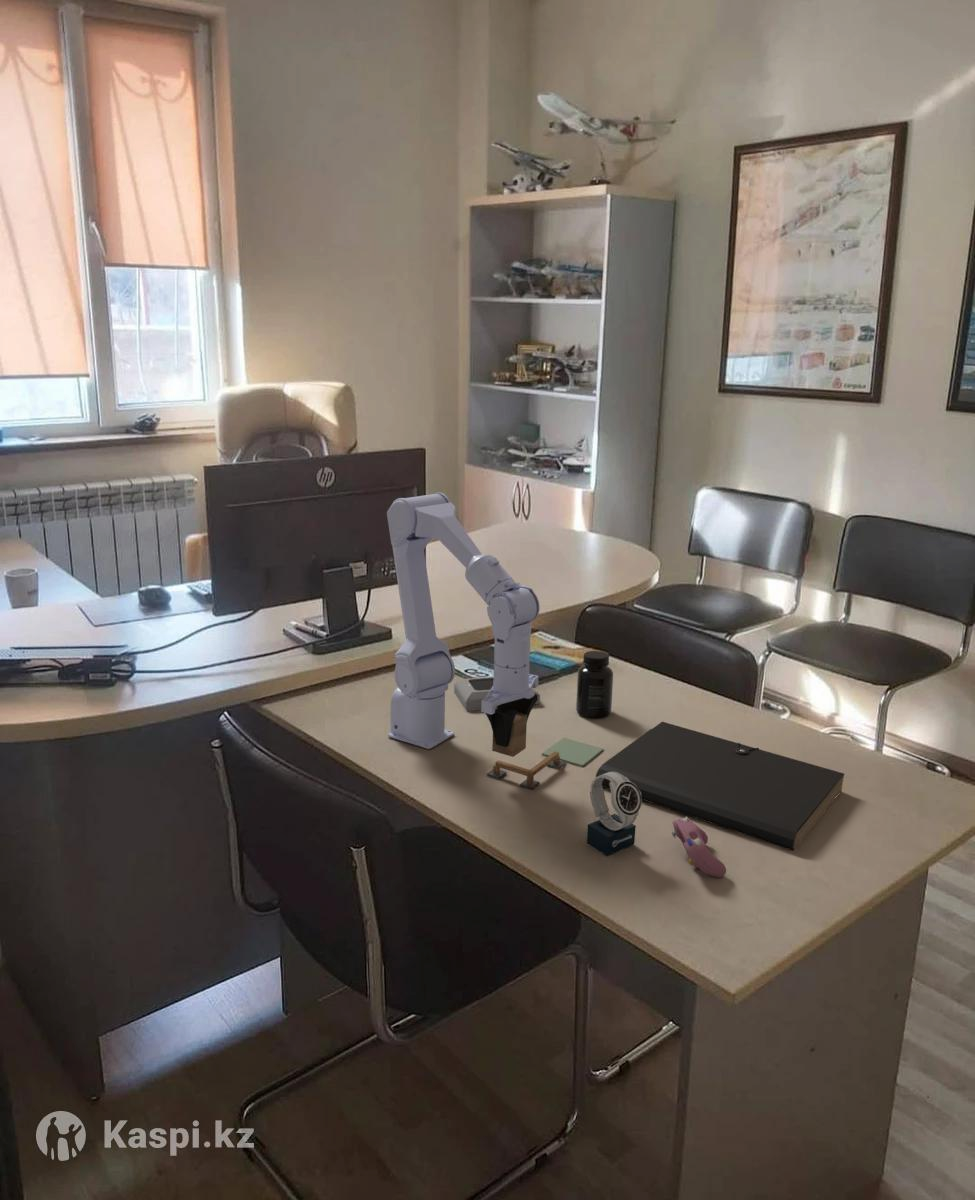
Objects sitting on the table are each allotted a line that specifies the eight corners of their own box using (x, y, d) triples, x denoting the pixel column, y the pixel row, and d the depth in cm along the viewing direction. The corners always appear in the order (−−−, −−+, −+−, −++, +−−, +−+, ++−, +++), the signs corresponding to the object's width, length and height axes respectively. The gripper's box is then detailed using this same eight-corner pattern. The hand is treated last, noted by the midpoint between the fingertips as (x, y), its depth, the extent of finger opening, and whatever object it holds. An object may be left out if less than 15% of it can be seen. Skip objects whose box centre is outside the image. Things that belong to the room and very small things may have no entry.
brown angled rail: (486, 775, 164) (486, 761, 163) (521, 751, 173) (521, 738, 172) (532, 790, 159) (533, 776, 158) (565, 764, 168) (566, 751, 167)
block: (492, 750, 161) (493, 717, 159) (505, 742, 164) (506, 709, 162) (513, 757, 159) (514, 722, 157) (525, 748, 162) (526, 714, 160)
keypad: (540, 688, 192) (466, 695, 188) (539, 706, 193) (465, 712, 190) (525, 671, 201) (454, 677, 197) (524, 688, 202) (454, 694, 198)
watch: (616, 862, 139) (621, 792, 136) (578, 838, 145) (582, 770, 142) (644, 850, 142) (649, 781, 139) (605, 827, 148) (610, 761, 145)
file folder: (845, 771, 160) (794, 832, 142) (842, 793, 162) (791, 857, 143) (662, 719, 179) (595, 767, 160) (661, 739, 180) (594, 790, 161)
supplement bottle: (617, 711, 191) (620, 653, 187) (601, 722, 185) (605, 663, 182) (585, 703, 194) (588, 646, 191) (569, 714, 189) (572, 655, 185)
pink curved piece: (680, 852, 145) (662, 815, 143) (708, 839, 145) (691, 801, 143) (700, 890, 135) (681, 851, 133) (730, 876, 135) (712, 837, 133)
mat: (541, 754, 172) (541, 753, 171) (563, 739, 178) (563, 737, 178) (582, 766, 167) (582, 765, 167) (603, 750, 174) (603, 748, 174)
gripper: (509, 681, 149) (507, 762, 153) (555, 654, 161) (552, 730, 165) (470, 671, 152) (469, 751, 156) (518, 646, 164) (516, 721, 168)
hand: (509, 740), depth 161 cm, fingers closed on block, 4 cm apart
